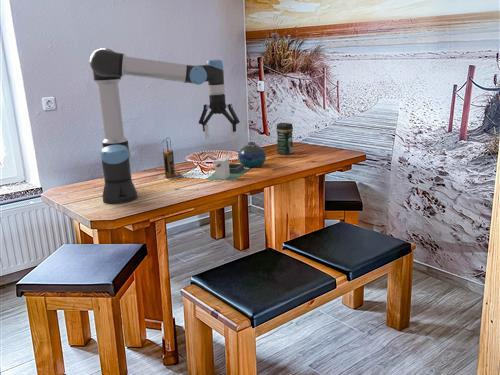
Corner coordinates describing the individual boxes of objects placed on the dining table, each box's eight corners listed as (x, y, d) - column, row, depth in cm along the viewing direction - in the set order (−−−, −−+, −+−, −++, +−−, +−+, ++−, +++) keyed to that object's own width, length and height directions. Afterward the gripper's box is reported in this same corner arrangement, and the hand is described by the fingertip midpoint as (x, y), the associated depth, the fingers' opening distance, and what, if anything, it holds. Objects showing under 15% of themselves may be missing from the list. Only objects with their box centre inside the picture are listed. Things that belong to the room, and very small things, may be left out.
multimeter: (181, 179, 242) (177, 140, 237) (162, 179, 244) (158, 140, 239) (190, 172, 256) (187, 135, 251) (172, 172, 258) (169, 135, 253)
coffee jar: (274, 153, 291) (273, 123, 286) (283, 151, 297) (282, 121, 292) (286, 155, 285) (286, 124, 280) (295, 153, 290) (294, 122, 285)
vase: (270, 164, 266) (270, 140, 262) (259, 171, 252) (258, 146, 248) (245, 162, 272) (244, 139, 268) (233, 169, 259) (232, 144, 255)
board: (233, 183, 231) (233, 175, 230) (205, 182, 236) (204, 174, 234) (249, 171, 252) (249, 163, 251) (223, 170, 257) (222, 163, 256)
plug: (223, 180, 231) (222, 162, 229) (213, 180, 233) (212, 161, 230) (230, 175, 240) (229, 157, 237) (221, 175, 241) (219, 157, 239)
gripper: (244, 92, 226) (247, 137, 231) (196, 93, 234) (199, 136, 239) (239, 94, 219) (241, 140, 225) (189, 95, 227) (193, 139, 233)
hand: (220, 138), depth 232 cm, fingers open, 13 cm apart
